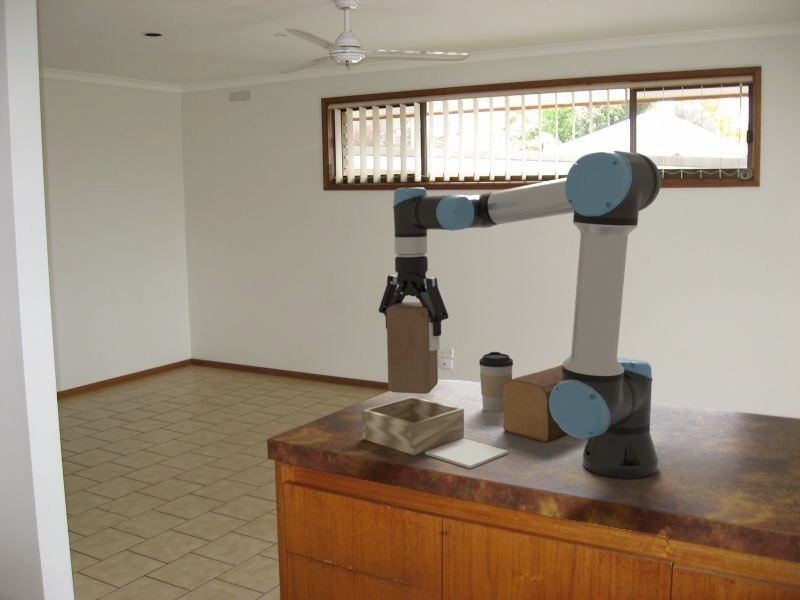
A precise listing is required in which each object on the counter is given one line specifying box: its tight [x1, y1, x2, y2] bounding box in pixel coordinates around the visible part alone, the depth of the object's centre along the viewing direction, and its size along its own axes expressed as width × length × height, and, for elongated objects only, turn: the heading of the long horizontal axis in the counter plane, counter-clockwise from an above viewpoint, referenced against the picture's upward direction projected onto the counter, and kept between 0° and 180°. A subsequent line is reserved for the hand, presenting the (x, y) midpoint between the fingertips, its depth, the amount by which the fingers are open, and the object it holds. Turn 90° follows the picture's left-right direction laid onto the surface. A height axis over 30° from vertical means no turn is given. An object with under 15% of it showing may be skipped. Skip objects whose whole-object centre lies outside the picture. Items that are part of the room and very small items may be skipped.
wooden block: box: [386, 301, 439, 395], centre depth 177 cm, size 10×10×20 cm
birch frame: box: [361, 395, 465, 456], centre depth 180 cm, size 17×17×7 cm
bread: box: [502, 364, 568, 443], centre depth 190 cm, size 14×34×14 cm, turn 135°
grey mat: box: [424, 437, 509, 469], centre depth 168 cm, size 13×13×1 cm
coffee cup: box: [478, 351, 514, 413], centre depth 203 cm, size 9×9×15 cm
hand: (413, 346), depth 177 cm, fingers closed on wooden block, 13 cm apart
